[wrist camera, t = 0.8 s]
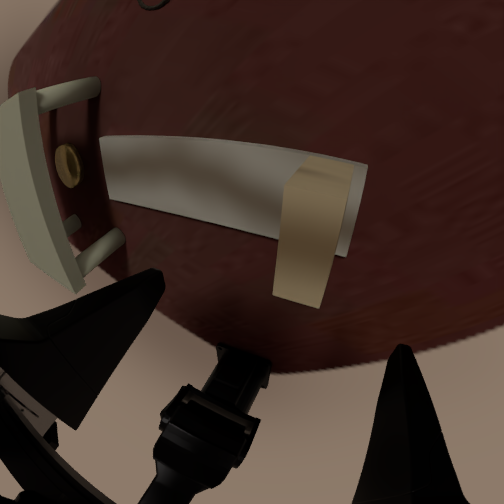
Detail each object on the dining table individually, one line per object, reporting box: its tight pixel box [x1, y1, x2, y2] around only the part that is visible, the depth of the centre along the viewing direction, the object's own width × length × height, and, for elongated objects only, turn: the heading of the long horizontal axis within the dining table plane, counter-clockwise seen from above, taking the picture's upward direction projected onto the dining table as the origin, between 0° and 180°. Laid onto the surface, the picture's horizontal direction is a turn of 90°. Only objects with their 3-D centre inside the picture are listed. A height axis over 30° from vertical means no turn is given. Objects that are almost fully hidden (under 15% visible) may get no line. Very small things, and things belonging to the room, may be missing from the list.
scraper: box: [99, 135, 368, 309], centre depth 17 cm, size 6×21×6 cm, turn 88°
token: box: [55, 143, 84, 188], centre depth 24 cm, size 5×5×1 cm
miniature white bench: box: [0, 76, 125, 294], centre depth 20 cm, size 18×11×8 cm, turn 179°
